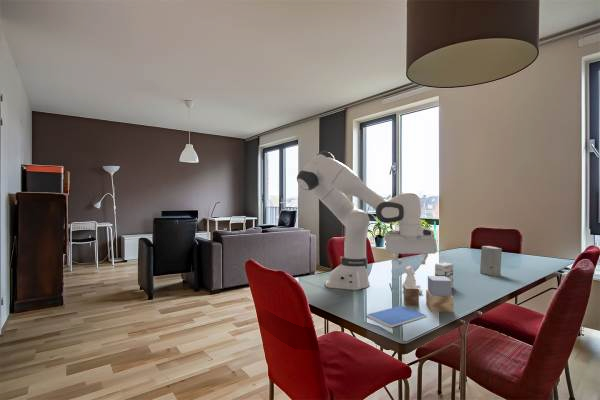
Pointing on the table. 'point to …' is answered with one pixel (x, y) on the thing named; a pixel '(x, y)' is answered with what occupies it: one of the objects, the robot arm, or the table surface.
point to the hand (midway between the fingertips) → (411, 264)
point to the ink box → (444, 271)
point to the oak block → (439, 302)
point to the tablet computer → (396, 316)
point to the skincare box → (490, 260)
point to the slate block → (439, 286)
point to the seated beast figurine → (410, 278)
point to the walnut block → (411, 295)
